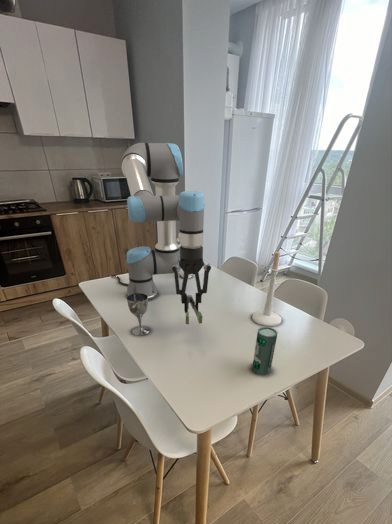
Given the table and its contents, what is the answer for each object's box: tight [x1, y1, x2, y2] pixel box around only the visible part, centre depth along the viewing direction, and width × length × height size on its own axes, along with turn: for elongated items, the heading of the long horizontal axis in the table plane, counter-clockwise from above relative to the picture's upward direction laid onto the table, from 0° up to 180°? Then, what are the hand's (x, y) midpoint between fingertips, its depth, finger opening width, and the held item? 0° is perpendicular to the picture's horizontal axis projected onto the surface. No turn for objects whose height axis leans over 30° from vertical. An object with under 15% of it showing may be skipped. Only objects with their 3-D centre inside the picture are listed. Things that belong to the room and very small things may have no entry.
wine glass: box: [126, 293, 151, 336], centre depth 119 cm, size 8×8×15 cm
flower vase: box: [176, 232, 194, 279], centre depth 169 cm, size 13×18×25 cm
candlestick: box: [251, 251, 282, 327], centre depth 125 cm, size 13×13×30 cm
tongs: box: [185, 294, 203, 325], centre depth 109 cm, size 19×6×3 cm, turn 7°
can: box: [251, 326, 279, 376], centre depth 98 cm, size 6×6×15 cm
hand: (191, 310), depth 109 cm, fingers closed on tongs, 3 cm apart
